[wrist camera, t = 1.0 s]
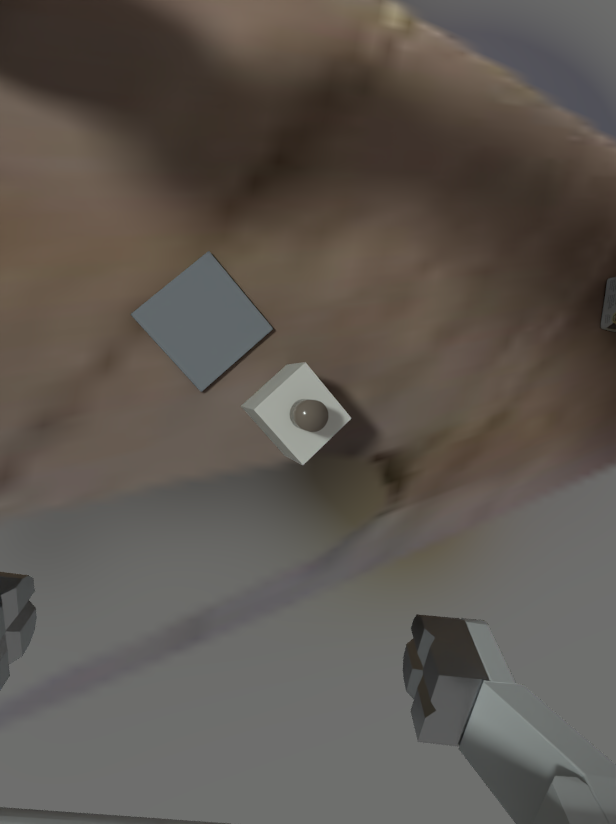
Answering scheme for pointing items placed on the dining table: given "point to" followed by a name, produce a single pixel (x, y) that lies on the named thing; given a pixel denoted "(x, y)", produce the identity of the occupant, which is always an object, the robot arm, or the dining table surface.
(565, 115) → the dining table surface
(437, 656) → the robot arm
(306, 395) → the perfume bottle
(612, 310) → the coffee box
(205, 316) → the felt mat
